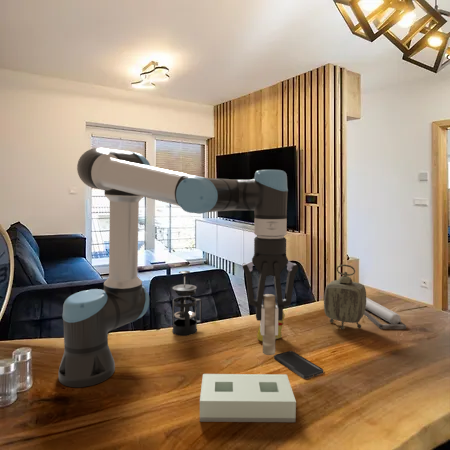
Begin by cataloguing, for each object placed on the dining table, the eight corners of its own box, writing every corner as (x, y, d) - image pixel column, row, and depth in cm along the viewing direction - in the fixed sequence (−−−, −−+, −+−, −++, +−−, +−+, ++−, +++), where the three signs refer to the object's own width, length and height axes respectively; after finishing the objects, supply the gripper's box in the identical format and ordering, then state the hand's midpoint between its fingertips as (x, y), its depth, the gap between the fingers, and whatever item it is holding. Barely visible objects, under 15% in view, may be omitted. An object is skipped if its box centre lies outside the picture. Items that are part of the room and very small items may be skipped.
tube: (405, 315, 140) (368, 296, 164) (394, 312, 139) (359, 294, 163) (401, 328, 140) (365, 307, 164) (389, 325, 139) (355, 305, 163)
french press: (172, 337, 128) (172, 275, 125) (168, 327, 136) (168, 269, 134) (204, 333, 131) (204, 272, 129) (198, 324, 140) (198, 267, 138)
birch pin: (263, 355, 84) (263, 297, 83) (262, 349, 87) (262, 294, 86) (276, 355, 84) (276, 297, 83) (274, 349, 87) (274, 294, 86)
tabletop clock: (365, 328, 138) (368, 265, 135) (360, 335, 130) (363, 269, 128) (328, 320, 145) (330, 260, 143) (321, 327, 138) (323, 264, 135)
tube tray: (380, 329, 137) (380, 325, 137) (352, 304, 167) (352, 301, 166) (406, 329, 137) (406, 325, 137) (373, 304, 167) (373, 301, 166)
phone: (291, 350, 116) (325, 370, 103) (291, 353, 116) (325, 373, 103) (272, 355, 112) (304, 377, 99) (272, 359, 113) (304, 380, 100)
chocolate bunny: (287, 339, 127) (288, 298, 125) (261, 344, 123) (261, 302, 121) (277, 332, 133) (278, 293, 132) (251, 336, 129) (252, 296, 127)
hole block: (199, 421, 81) (199, 400, 81) (203, 392, 93) (203, 373, 93) (295, 422, 81) (295, 401, 81) (286, 392, 93) (286, 374, 93)
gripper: (237, 238, 79) (237, 339, 81) (307, 238, 79) (304, 339, 81) (236, 234, 87) (236, 327, 89) (300, 234, 87) (298, 327, 89)
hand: (268, 332), depth 85 cm, fingers closed on birch pin, 2 cm apart
